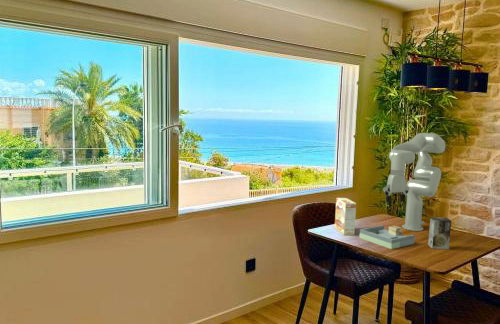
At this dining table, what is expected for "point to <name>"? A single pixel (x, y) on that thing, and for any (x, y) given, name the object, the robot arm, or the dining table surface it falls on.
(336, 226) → the coffeecake box
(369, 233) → the box
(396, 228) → the maple block
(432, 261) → the dining table surface
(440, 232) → the coffee box
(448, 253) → the dining table surface
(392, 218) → the dining table surface
